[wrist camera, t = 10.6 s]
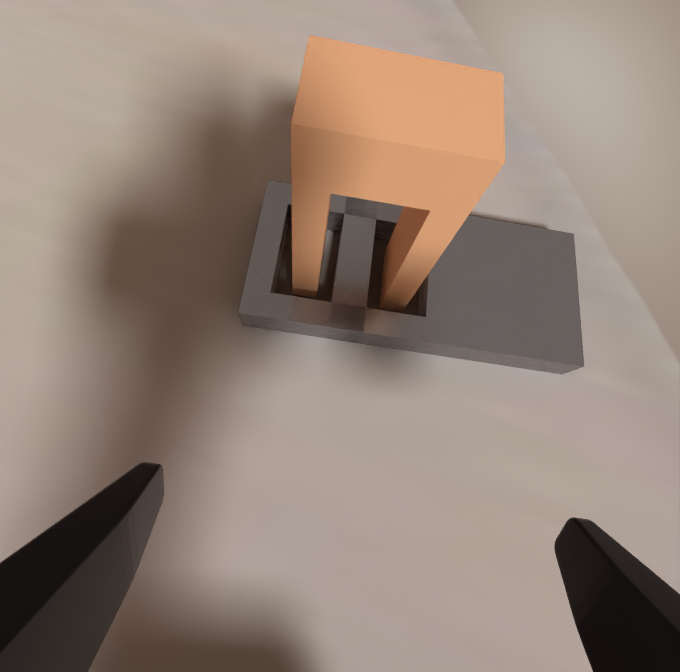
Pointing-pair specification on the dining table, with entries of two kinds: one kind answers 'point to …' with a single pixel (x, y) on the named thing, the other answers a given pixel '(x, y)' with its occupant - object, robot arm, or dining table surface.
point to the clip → (390, 153)
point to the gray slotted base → (430, 289)
